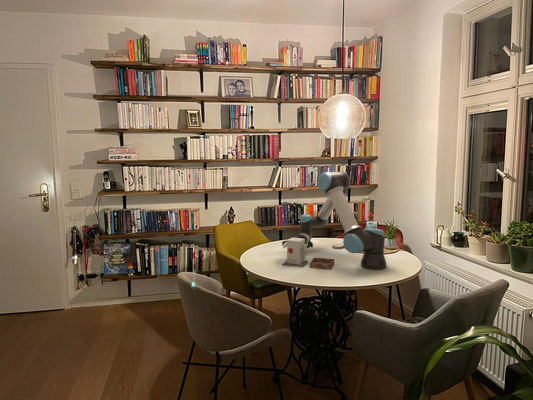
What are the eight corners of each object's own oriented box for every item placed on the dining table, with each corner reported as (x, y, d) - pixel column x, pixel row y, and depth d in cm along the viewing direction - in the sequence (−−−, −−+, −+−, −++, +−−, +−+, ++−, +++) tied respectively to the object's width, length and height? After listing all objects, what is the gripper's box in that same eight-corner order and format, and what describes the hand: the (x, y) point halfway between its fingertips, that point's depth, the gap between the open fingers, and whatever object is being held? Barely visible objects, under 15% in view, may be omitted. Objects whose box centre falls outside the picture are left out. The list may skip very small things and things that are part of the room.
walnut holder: (334, 263, 235) (334, 258, 235) (330, 269, 223) (331, 264, 223) (314, 261, 240) (314, 257, 239) (309, 267, 228) (309, 262, 227)
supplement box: (286, 263, 235) (286, 239, 233) (291, 259, 243) (291, 237, 241) (300, 265, 231) (300, 241, 229) (305, 261, 239) (305, 238, 237)
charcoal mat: (308, 261, 241) (308, 260, 241) (303, 267, 229) (303, 266, 229) (287, 259, 245) (287, 258, 245) (281, 265, 233) (281, 264, 233)
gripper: (320, 246, 249) (314, 254, 229) (284, 244, 257) (275, 251, 238) (320, 235, 248) (314, 242, 229) (284, 233, 257) (275, 240, 237)
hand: (294, 247), depth 233 cm, fingers open, 13 cm apart
